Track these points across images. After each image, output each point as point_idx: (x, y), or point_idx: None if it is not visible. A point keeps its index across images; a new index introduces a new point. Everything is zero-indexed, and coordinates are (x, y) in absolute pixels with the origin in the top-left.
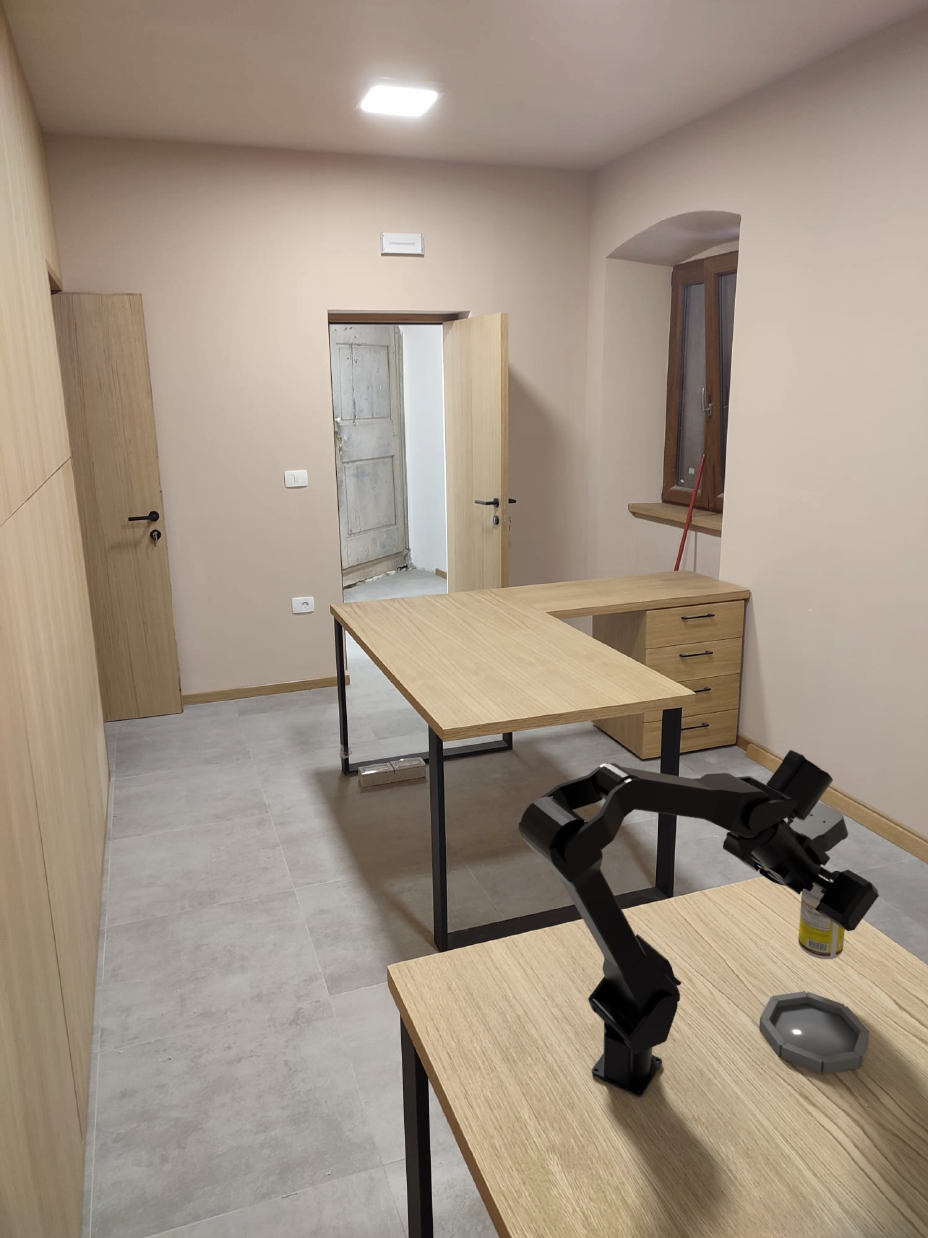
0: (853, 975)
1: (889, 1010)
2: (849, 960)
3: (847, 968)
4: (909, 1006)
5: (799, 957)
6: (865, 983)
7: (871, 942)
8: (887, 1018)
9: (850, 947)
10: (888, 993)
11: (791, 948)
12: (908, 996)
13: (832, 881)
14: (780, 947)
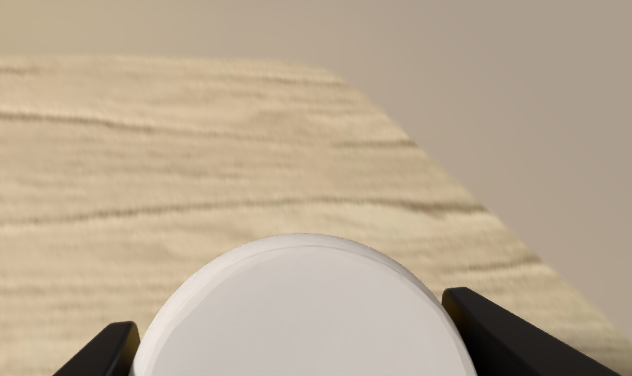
0: (279, 226)
1: (432, 245)
2: (221, 187)
3: (247, 218)
4: (434, 185)
5: (139, 318)
6: (319, 221)
7: (186, 76)
8: (457, 275)
9: (176, 141)
10: (375, 195)
11: (90, 310)
12: (401, 158)
13: (374, 373)
14: (66, 342)
